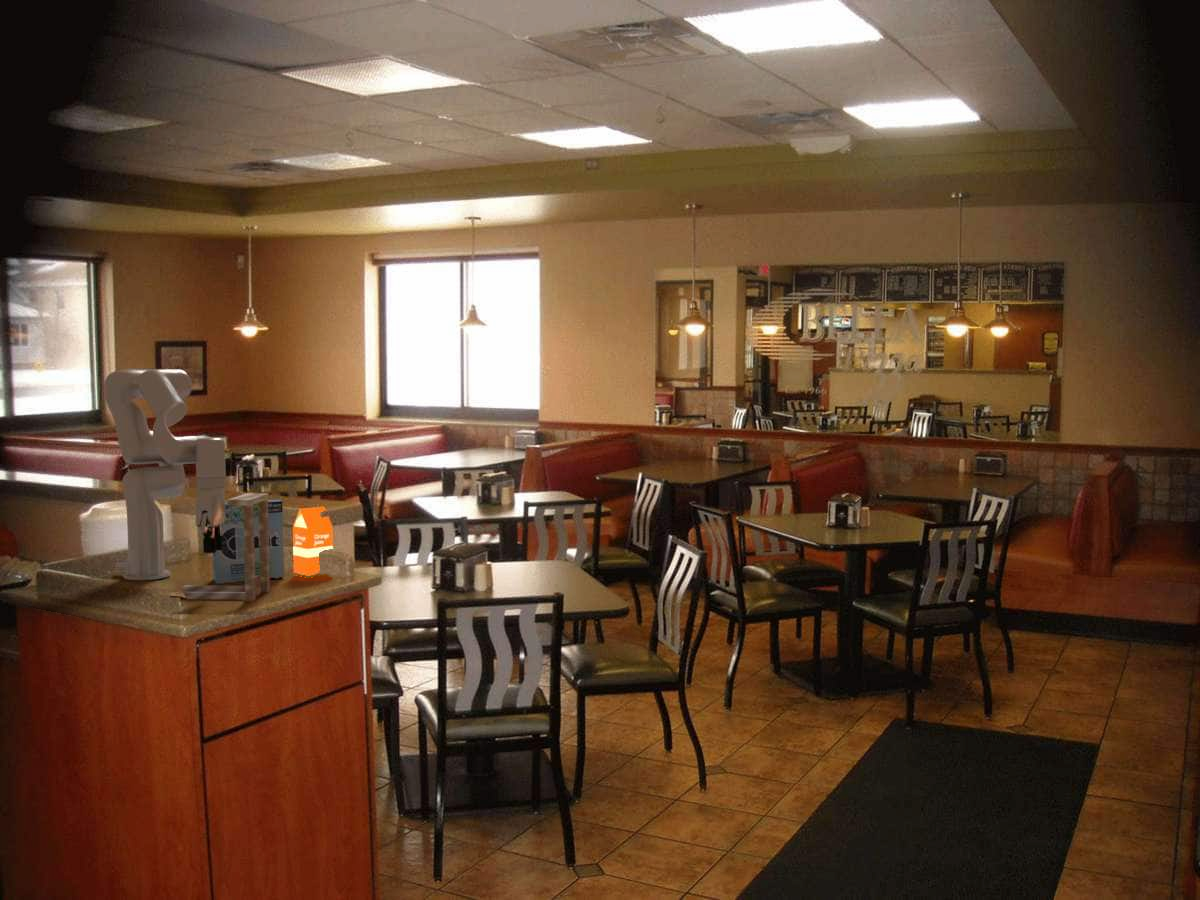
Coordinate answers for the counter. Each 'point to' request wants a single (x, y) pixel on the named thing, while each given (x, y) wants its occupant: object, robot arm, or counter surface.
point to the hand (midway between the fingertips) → (212, 550)
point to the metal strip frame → (252, 582)
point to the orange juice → (310, 540)
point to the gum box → (232, 554)
